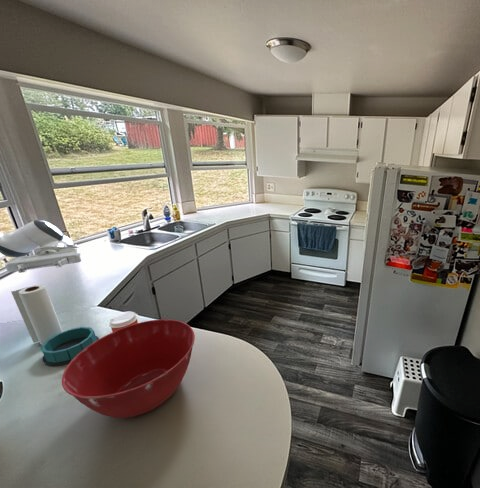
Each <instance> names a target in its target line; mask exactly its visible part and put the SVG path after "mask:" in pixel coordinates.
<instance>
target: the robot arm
mask: <svg viewBox="0 0 480 488" xmlns="http://www.w3.org/2000/svg"><path fill="white" fill-rule="evenodd" d="M33 251H35V254H31V253H32V252H33ZM0 254H2V255H3V256H5V257H9V258H12V259H10V260H8V261H7V262H5V263H4V267H5V269H6V271H7V272H9V273H15V272H18V273H19V274H21V273H27V271H28V270H36V269H42V268H44V269H45V268H50V267H55V268H62V267H63V266H65V265H70V264H78V263H81V262H82V261H83V256H82V252H81V250H80V247H79V246H78V244H74V241H73V240H72V239H71V238H70V237H68V236H66V235H65V233H64V232H63V230H61V228H59V226H57V225H56V224H54V223H52V222H50V221H46V220H42V219H34V220H31V221H30V222H27V223H26V224H24V225H22V226H21V227H18V228H16V229H14V230H12V231H10V232H8V233H7V232H6V233H3V232H0ZM30 254H31V255H30Z"/></svg>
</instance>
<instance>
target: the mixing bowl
mask: <svg viewBox="0 0 480 488" xmlns="http://www.w3.org/2000/svg"><path fill="white" fill-rule="evenodd" d="M195 340H196V335H195V331H194V329H193V328H192V326H190V325H189V324H187V323H186V322H184V321H181V320H176V319H170V318H169V319H168V318H166V319H165V318H161V319H151V320H146V321H141V322H138V323H137V324H133V325H130V326H127V327H124V328H122V329H119V330H117V331H114V332H113V331H112V332H110V333H107V334H106V335H104V336H102V337H100V338H99V340H97V341H95V342H94V343H92V344H91V345H89V346H88V347H86V348H85V349H84V350H82V351H81V352H80V353H79V354H78V355H77V356H76V357H75V358H74V359H73V360H72V361H71V362H70V363H69V364H67V366H66V367H65V369H64V371H63V373H62V375H61V386H62V389H63V391H65V392H66V393H67V394H68V395H70V396H72V397H74V399H76V400H77V401H78V402H80V404H81V405H84V406H85V407H86V408H89V409H90V410H91V411H93V412H96V413H98V414H99V415H103V416H106V417H109V418H114V419H127V418H133V417H134V418H135V417H137V416H140V415H143V414H146V413H148V412H150V411H152V410H154V409H156V408H157V407H159V406H161V405H162V404H164V402H166V401H167V400H168V399H169V398H170V397H171V396H172V395H173V394H174V393H175V392H176V391H177V389H178V388H179V386H181V383H182V381H183V379H184V377H185V374H186V372H187V371H188V367H189V364H190V361H191V357H192V352H193V347H194V344H195Z"/></svg>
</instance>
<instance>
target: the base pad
mask: <svg viewBox="0 0 480 488" xmlns="http://www.w3.org/2000/svg"><path fill="white" fill-rule="evenodd" d="M99 339H100V338H99V336H97V335H96V332H95V330H94V329H93V328H92V327H89V326H78V327H73V328H69V329H66V330H64V331H63V332H61V333H59V334H56V335H55V336H53V337H51V338H50V339H48V340H47V341H46V342H45V343H44V344H43V345H41V346H40V349H41V352H42V354H43V355H42V363H43V364H44V366H47V367H61V366H66V365H68V364H69V363H70V362H71V361H72V360H73V359H74V358H75V357H76V356H77V355H78V354H79V353H80V352H81V351H82V350H84V349H85V348H86V347H88V346H89V345H91V344H92V343H94V342H95V341H97V340H99Z"/></svg>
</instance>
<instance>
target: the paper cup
mask: <svg viewBox="0 0 480 488" xmlns="http://www.w3.org/2000/svg"><path fill="white" fill-rule="evenodd" d="M138 318H139V315H138V313H136V312H135V311H132V310H131V311H129V310H128V311H122V312H119V313H117V314H115V315H114V316H112V317H111V318H110V319H109V323H108V327H110V328H111V331H112V332H114V331H117V330H119V329H122V328H124V327H127V326H130V325H133V324H137V323H139V322H138Z"/></svg>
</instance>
